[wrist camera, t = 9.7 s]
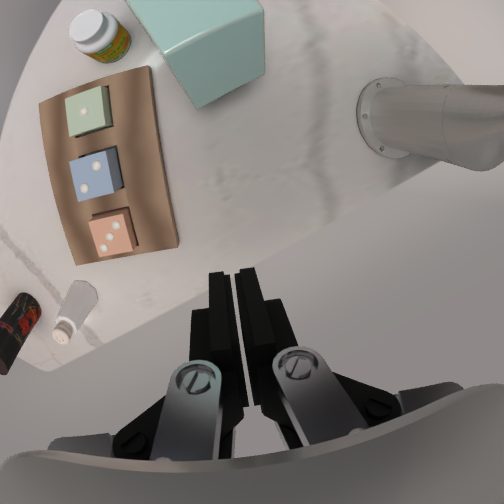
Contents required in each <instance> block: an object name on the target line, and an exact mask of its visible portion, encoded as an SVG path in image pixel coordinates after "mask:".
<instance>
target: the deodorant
mask: <svg viewBox="0 0 504 504" xmlns="http://www.w3.org/2000/svg"><path fill="white" fill-rule="evenodd" d="M40 316H41V308H40V305H39V304H38V302H37V301H36V300H35V298H33V297H32V296H31V295H29V294H27V293H20V294H19V295H18V296H17V297H16V298H15V300H14V301H13V302H12V304H11V305H10V306H9V307H8V309H7V310H6V311H5V313H4V314H3V315H2V317H1V318H0V374H1V375H7V373H8V371H9V369H10V367H11V366H12V364H13V362H14V360H15V358H16V356H17V354H18V353H19V351H20V349H21V347H22V346H23V344H24V342H25V340H26V339H27V337H28V335H29V334H30V332H31V330H32V329H33V327H34V325H35V324H36V322H37V321H38V319H39V317H40Z"/></svg>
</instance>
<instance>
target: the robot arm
mask: <svg viewBox="0 0 504 504" xmlns="http://www.w3.org/2000/svg"><path fill="white" fill-rule="evenodd" d="M362 115H363V116H362ZM357 119H358V124H359V128H360V131H361V134H362V136H363V137H364V139H365V141H366V142H367V144H368V145H369V146H370V147H371V148H372V149H373V150H374V151H375V152H377V153H378V154H380V155H382V156H385V157H389V158H402V157H405V156H407V155H409V154H411V153H415V154H419V155H423V156H426V157H430V158H434V159H437V160H441V161H444V162H448V163H451V164H454V165H458V166H461V167H464V168H467V169H470V170H474V171H487V170H490V169H493V168H495V167H496V166H498V165H499V164H501V163H502V162H503V161H504V85H497V86H494V85H418V86H407V85H406V84H405V83H403V82H401V81H399V80H397V79H393V78H381V79H377V80H375V81H373V82H371V83H370V84H368V85H367V86H366V88H365V89H364V90H363V92H362V93H361V95H360V98H359V101H358V107H357ZM234 275H235V283H236V290H237V299H238V306H239V314H240V322H241V329H242V336H243V342H244V348H245V354H246V361H247V366H248V372H249V378H250V384H251V390H252V396H253V401H254V405H255V406H256V405H261V410H262V413H263V414H264V416H266V417H268V418H270V419H272V420H274V421H275V425H276V428H277V430H278V432H279V435H280V437H281V439H282V441H283V444H284V446H285V448H286V451H281V452H276V453H270V454H263V455H257V456H249V457H241V458H234V452H235V451H234V450H235V434H236V430H235V426H236V425H237V424H238V423H239V422H240V421H241V420H242V419H243V418H244V411H243V407H249V403H248V396H247V390H246V384H245V377H244V371H243V364H242V358H241V351H240V344H239V337H238V330H237V323H236V317H235V309H234V302H233V295H232V288H231V281H230V274H229V275H224V272H223V271H222V272H214V273H209V308H205V309H197V310H192V317H191V333H190V354H189V362H186V363H184V364H182V365H180V366H179V367H178V368H177V369H176V370H175V371H174V372H173V374H172V376H171V378H170V382H169V385H168V389H167V393H166V395H165V396H164V397H163V398H161V399H160V400H159V401H158V402H156V403H155V404H154V405H152V406H151V407H150V408H148V409H147V410H146V411H145V412H143V413H142V414H141V415H140V416H138V417H137V418H136V419H134V420H133V421H132V422H130V423H129V424H128V425H127V426H125V427H124V428H122V429H121V430H120V431H119V432H118V433H117V434H116V435H110V434H109V433H104V434H96V435H86V436H75V437H61V438H57V439H55V440H54V441H52V442H51V443H50V445H49V446H48V449H47V450H36V451H28V452H22V453H18V454H15V455H13V456H10V457H9V458H7V459H6V460H5V461H4V462H3V463H2V465H1V466H0V504H504V384H485V385H479V386H473V387H470V388H466V389H463V387H461V386H460V385H459V384H457V383H454V382H444V383H439V384H435V385H430V386H425V387H420V388H414V389H408V390H402V391H399V392H398V394H395V395H392V394H390V393H388V392H387V391H384V390H381V389H378V388H375V387H372V386H369V385H366V384H364V383H361V382H358V381H355V380H353V379H350V378H347V377H345V376H342V375H339V374H337V373H334V372H332V371H331V369H330V368H329V366H328V365H327V363H326V362H325V360H324V359H323V357H322V356H321V355H320V354H319V353H318V352H317V351H315V350H313V349H311V348H308V347H304V346H302V347H301V346H298V344H297V341H296V338H295V335H294V333H293V330H292V327H291V325H290V322H289V320H288V317H287V314H286V311H285V309H284V306H283V303H282V301H281V299H273V300H267V301H264V299H263V296H262V292H261V289H260V285H259V282H258V279H257V275H256V272H255V268H254V267H253V268H245V269H240V273H237V274H234Z"/></svg>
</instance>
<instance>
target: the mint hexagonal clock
mask: <svg viewBox="0 0 504 504" xmlns="http://www.w3.org/2000/svg"><path fill="white" fill-rule="evenodd" d="M125 2H126V3H127V5H128V6H129V8H130V9H131V11H132V12H133V13H134V15H135V16H136V18H137V19H138V21H139V22H140V24H141V25H142V27H143V28H144V30H145V31H146V33H147V34H148V36H149V37H150V39H151V40H152V42H153V43H154V45H155V46H156V48H157V49H158V51H159V52H160V54H161V55H162V57H163V59H164V60H165V62H166V63H167V65H168V66H169V68H170V69H171V71H172V72H173V74H174V76H175V77H176V79H177V80H178V82H179V83H180V85H181V87H182V88H183V90H184V91H185V93H186V94H187V96H188V97H189V99H190V100H191V102H192V103H193V105H194V107H195V108H196V109H197V110H198V109H200V108H201V107H203V106H205V105H206V104H208V103H210V102H212V101H214V100H215V99H217V98H219V97H221V96H223V95H225V94H226V93H228V92H230V91H232V90H234V89H236V88H238V87H240V86H242V85H244V84H246V83H248V82H250V81H252V80H254V79H256V78H258V77H260V76H263V75H264V74H265V32H264V9H263V7H262V6H261V4H260V3H259V2H258V0H125Z"/></svg>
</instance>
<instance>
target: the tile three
mask: <svg viewBox="0 0 504 504" xmlns="http://www.w3.org/2000/svg"><path fill="white" fill-rule="evenodd" d="M88 223H89V226H90V230H91V233H92V236H93V240H94V243H95V246H96V249H97V252H98V255H99V257H103V256H109V255H114V254H120V253H125V252H131V251H133V250H134V248H135V246H136V244H137V242H138V240H137V236H136V232H135V228H134V225H133V221H132V217H131V212H130V208H129V206H127V207H122V208H117V209H113V210H109V211H104V212H100V213H97V214H96V215H95V216H94V217H93V218H92V219H91V220H90V221H88Z"/></svg>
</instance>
